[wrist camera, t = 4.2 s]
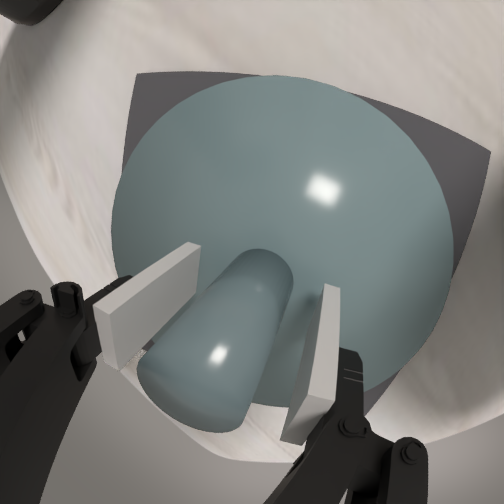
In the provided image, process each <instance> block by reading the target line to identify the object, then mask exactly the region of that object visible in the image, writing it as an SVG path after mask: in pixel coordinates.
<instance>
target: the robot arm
mask: <svg viewBox="0 0 504 504" xmlns="http://www.w3.org/2000/svg"><path fill="white" fill-rule="evenodd" d="M61 1H62V0H0V14H1V15H3V16H4V17H6V18H8V19H9V20H11V21H13V22H15V23H17V24H24V25H34V24H36V23H38V22H40V21H41V20H42V19H43V18H45V17H46V16H47V15H48V14H49V13H50V12H51V11H52V10H53V9H54V8H55V7H56V6H57V5H58V4H59V3H60V2H61ZM200 252H201V246H200V245H197V244H194V243H190V242H187V243H185V244H183V245H182V246H180V247H179V248H177V249H176V250H174V251H172V252H171V253H169V254H168V255H166V256H165V257H163V258H162V259H160V260H159V261H157V262H155V263H154V264H152V265H151V266H149V267H148V268H146V269H145V270H143V271H142V272H140V273H139V274H137V275H136V276H134V277H133V276H131V275H127V276H124V277H120V278H118V279H116V280H115V281H113V282H112V283H110V285H107V286H106V287H104V289H101V290H100V291H98V292H96V293H95V294H93V295H92V296H90V297H89V298H87V299H86V300H85V301H84V300H83V293H82V288H81V287H80V285H79V284H76V283H74V282H60V283H58V284H55V285H54V286H52V287H51V293H52V298H53V302H54V307H53V306H49V305H47V304H44V303H43V301H42V296H41V294H40V293H39V292H38V291H35V290H25V291H22V292H20V293H18V294H17V295H15V296H14V297H12V298H11V299H10V300H8V301H6V302H5V303H4V304H2V305H1V306H0V504H39V503H40V500H41V496H42V493H43V490H44V487H45V484H46V481H47V478H48V475H49V473H50V469H51V467H52V464H53V462H54V459H55V456H56V454H57V451H58V449H59V446H60V444H61V441H62V439H63V436H64V434H65V432H66V429H67V427H68V425H69V422H70V420H71V418H72V416H73V413H74V411H75V409H76V407H77V405H78V403H79V400H80V398H81V396H82V394H83V392H84V390H85V388H86V386H87V384H88V382H89V379H90V378H91V376H92V374H93V372H94V370H95V368H96V364H97V361H96V357H97V356H98V355H99V354H100V353H101V352H102V356H103V360H104V362H105V363H106V364H108V365H109V366H111V367H112V368H114V369H116V370H117V371H120V370H121V369H122V368H123V367H124V366H125V365H126V364H127V363H128V362H129V361H130V360H131V359H132V358H133V357H134V356H135V355H136V354H137V352H138V351H139V350H140V349H141V348H142V347H143V346H144V345H145V344H146V343H147V342H148V341H149V340H150V339H151V338H152V337H153V336H154V335H155V334H156V333H157V332H158V331H159V330H160V329H161V328H162V327H163V326H164V325H165V324H166V323H167V322H168V321H169V320H170V319H171V318H172V317H173V316H174V315H175V313H176V312H177V311H178V310H179V309H180V308H181V307H182V306H183V305H184V304H185V303H186V302H187V301H188V300H189V299H190V298H191V297H192V296H193V295H194V294H195V293H196V287H197V278H198V269H199V261H200ZM21 330H22V332H23V334H24V337H25V339H26V340H24V341H20V340H19V337H18V334H17V333H19V332H20V331H21ZM339 332H340V288H338V287H335V286H332V285H328V284H324V287H323V289H322V292H321V295H320V298H319V300H318V303H317V306H316V309H315V311H314V314H313V317H312V319H311V322H310V324H309V327H308V329H307V334H306V339H305V343H304V348H303V352H302V357H301V361H300V366H299V370H298V374H297V378H296V382H295V386H294V390H293V394H292V398H291V402H290V406H289V409H288V413H287V417H286V420H285V424H284V427H283V431H282V434H281V438H280V440H281V441H284V442H288V443H292V444H296V445H300V446H302V445H303V443H304V442H305V441H306V440H307V441H306V445H305V450H304V452H303V453H302V454H301V455H300V456H299V457H298V458H297V460H296V461H295V462H294V463H293V464H294V465H293V467H292V468H291V469H290V470H289V472H288V473H287V475H286V476H285V477H284V478H283V480H282V481H281V483H280V484H279V485H278V486H277V488H276V489H275V490H274V491H273V493H272V494H271V495H270V496H269V498H268V499H267V500H266V501H265V502H264V503H263V504H339V503H340V501H341V499H342V497H343V495H344V493H345V491H346V490H347V489H348V490H347V495H346V499H345V503H344V504H427V497H428V454H427V450H426V448H425V446H424V445H423V443H421V442H420V441H419V440H417V439H415V438H412V437H403V438H401V439H399V440H397V441H396V442H395V443H394V442H392V441H389V440H387V439H385V438H383V437H380V436H379V435H377V434H375V433H374V432H373V431H372V430H371V426H370V423H369V422H368V420H367V419H366V418H365V417H364V387H363V362H362V360H361V358H360V356H359V354H358V352H356V351H352V350H348V349H344V348H341V347H339Z"/></svg>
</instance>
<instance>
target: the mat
mask: <svg viewBox="0 0 504 504" xmlns="http://www.w3.org/2000/svg"><path fill="white" fill-rule="evenodd" d="M255 76H260V75H250V74H239V73H225V72H194V71H185V72H155V73H141V74H137V76H136V80H135V85H134V90H133V95H132V100H131V105H130V111H129V117H128V124H127V131H126V138H125V146H124V155H123V164H122V172H123V170H124V168H125V166H126V164H127V162H128V160H129V158H130V156H131V154H132V152H133V151H134V149H135V148H136V146H137V145H138V143H139V142H140V140H141V139H142V137H143V136H144V135H145V134H146V133H147V131H148V130H149V129H150V128H151V127H152V126H153V125H154V124H155V123H156V122H157V121H158V119H160V118H161V117H162V116H163V115H164V114H166V113H167V112H168V111H169V110H171V109H172V108H173V107H174V106H176V105H177V104H179V103H180V102H182V101H184V100H185V99H187V98H189V97H190V96H192V95H194V94H196V93H197V92H200V91H202V90H204V89H207V88H209V87H212V86H215V85H217V84H220V83H223V82H227V81H232V80H236V79H241V78H246V77H255ZM348 93H349V92H348ZM350 94H352V95H354V96H357V97H359V98H361V99H362V100H364V101H366V102H367V103H369V104H370V105H372V106H373V107H375V108H376V109H378V110H379V111H380V112H382V113H383V114H385V115H386V116H387V117H389V118H390V119H391V120H392V121H393V122H394V123H395V124H396V125H397V126H398V127H399V128H400V129H401V130H402V131H403V132H404V133H405V134H406V135H407V136H409V138H410V139H411V140H412V141H413V143H414V144H415V145H416V147H417V148H418V149H419V151H420V152H421V153H422V155H423V156H424V157H425V159H426V160H427V162H428V164H429V165H430V167H431V169H432V171H433V173H434V175H435V177H436V179H437V181H438V183H439V185H440V187H441V190H442V192H443V195H444V198H445V201H446V204H447V208H448V211H449V215H450V221H451V227H452V233H453V270H452V276H451V279H452V277H453V274H454V272H455V270H456V267H457V265H458V263H459V260H460V258H461V255H462V253H463V250H464V247H465V245H466V242H467V239H468V237H469V234H470V231H471V228H472V225H473V222H474V219H475V216H476V212H477V209H478V205H479V202H480V198H481V195H482V191H483V187H484V183H485V179H486V174H487V169H488V165H489V159H490V154H491V151H489V150H487V149H486V148H484V147H482V146H480V145H479V144H477V143H475V142H473V141H471V140H470V139H468V138H466V137H464V136H462V135H460V134H458V133H456V132H454V131H452V130H450V129H448V128H446V127H443V126H441V125H439V124H437V123H435V122H432V121H430V120H428V119H425V118H423V117H421V116H418V115H416V114H413V113H411V112H408V111H405V110H403V109H400V108H397V107H394V106H392V105H389V104H386V103H383V102H380V101H377V100H373V99H370V98H367V97H364V96H360V95H357V94H353V93H350ZM154 344H155V343H154V342H153V340H152V339H150V340H149V341H148V342H147V343H146V344H145V345H144V346H143V347H142V349H144V350H146V351H148V350H149V349H150V348H151V347H152V346H153V345H154ZM399 371H400V369H399V370H398V371H397V372H396V373H395V374H393V375H392V376H391V377H389V378H388V379H386V380H385V381H383V382H382V383H380V384H379V385H377V386H375V387H374V388H372V389H369V390H367V391H365V392H364V416H365V415H366V414H367V413H368V412H369V411H370V409H371V408H372V407H373V406H374V404H375V403H376V402H377V401H378V399H379V398H380V397H381V395H382V394H383V393H384V392H385V390H386V389H387V388H388V386H389V385H390V383H391V382H392V381H393V379H394V378H395V377H396V375H397V374H398V372H399Z"/></svg>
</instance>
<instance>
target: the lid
mask: <svg viewBox="0 0 504 504" xmlns="http://www.w3.org/2000/svg"><path fill="white" fill-rule="evenodd" d="M111 236H112V250H113V256H114V262H115V267H116V271H117V274H118V278H120V277H124V276H127V275H131V276H133V277H134V276H136V275H137V274H139V273H140V272H142V271H143V270H145V269H146V268H148V267H149V266H151V265H152V264H154V263H155V262H157V261H159V260H160V259H162V258H163V257H165V256H166V255H168V254H169V253H171V252H172V251H174V250H176V249H177V248H179V247H180V246H182V245H183V244H185V243H187V242H190V243H194V244H197V245H200V246H201V252H200V261H199V269H198V278H197V287H196V293H195V294H194V295H193V296H192V297H191V298H190V299H189V300H188V301H187V302H186V303H185V304H184V305H183V306H182V307H181V308H180V309H179V310H178V311H177V312H176V313H175V315H174V316H173V317H172V318H171V319H170V320H169V321H168V322H167V323H166V324H165V325H164V326H163V327H162V328H161V329H160V330H159V331H158V332H157V333H156V334H155V335H154V336H153V337H152V338H151V339H152V340H153V342H154V343H155V344H154V345H153V346H152V347H151V348H150V349H149V350H148V351H147V352H146V354H145V355H144V356H143V357H142V358H141V359H140V360H139V362H138V365H137V375H138V379H139V382H140V384H141V386H142V388H143V389H144V391H145V393H146V394H147V395H148V397H149V398H150V399H151V400H152V401H153V402H154V403H155V404H156V405H157V406H158V407H159V408H160V409H161V410H162V411H164V412H165V413H166V414H168V415H169V416H171V417H172V418H174V419H175V420H177V421H179V422H181V423H183V424H185V425H187V426H190V427H192V428H195V429H198V430H202V431H206V432H214V433H223V432H229V431H232V430H235V429H237V428H238V427H239V426H240V425H241V424H242V422H243V420H244V418H245V416H246V413H247V411H248V408H249V406H250V404H251V402H252V403H257V404H262V405H268V406H277V407H289V406H290V402H291V398H292V394H293V390H294V386H295V382H296V378H297V374H298V370H299V366H300V361H301V357H302V352H303V348H304V343H305V339H306V334H307V329H308V327H309V324H310V322H311V319H312V317H313V314H314V311H315V309H316V306H317V303H318V300H319V298H320V295H321V292H322V289H323V287H324V284H328V285H332V286H335V287H338V288H340V332H339V347H341V348H344V349H348V350H352V351H356V352H358V354H359V356H360V358H361V360H362V362H363V387H364V392H365V391H367V390H369V389H372V388H374V387H375V386H377V385H379V384H380V383H382V382H383V381H385V380H386V379H388V378H389V377H391V376H392V375H393V374H395V373H396V372H397V371H398V370H399V369H401V368H402V367H403V366H404V365H405V364H406V363H407V362H408V361H409V360H410V359H411V358H412V357H413V356H414V355H415V354H416V353H417V351H418V350H419V349H420V348H421V347H422V345H423V344H424V342H425V341H426V340H427V338H428V337H429V335H430V334H431V332H432V331H433V329H434V327H435V325H436V323H437V321H438V319H439V317H440V315H441V312H442V310H443V307H444V304H445V301H446V298H447V295H448V292H449V288H450V283H451V276H452V270H453V233H452V227H451V221H450V215H449V211H448V208H447V204H446V201H445V198H444V195H443V192H442V190H441V187H440V185H439V183H438V181H437V179H436V177H435V175H434V173H433V171H432V169H431V167H430V165H429V164H428V162H427V160H426V159H425V157H424V156H423V155H422V153H421V152H420V151H419V149H418V148H417V147H416V145H415V144H414V143H413V141H412V140H411V139H410V138H409V136H407V135H406V134H405V133H404V132H403V131H402V130H401V129H400V128H399V127H398V126H397V125H396V124H395V123H394V122H393V121H392V120H391V119H390V118H389V117H387V116H386V115H385V114H383V113H382V112H380V111H379V110H378V109H376V108H375V107H373V106H372V105H370V104H369V103H367V102H366V101H364V100H362V99H361V98H359V97H357V96H354V95H352V94H350V93H348V92H346V91H344V90H341V89H339V88H337V87H335V86H331V85H328V84H324V83H321V82H317V81H313V80H310V79H306V78H298V77H288V76H278V75H273V76H255V77H246V78H241V79H236V80H232V81H227V82H223V83H220V84H217V85H215V86H212V87H209V88H207V89H204V90H202V91H200V92H197V93H196V94H194V95H192V96H190V97H189V98H187V99H185V100H184V101H182V102H180V103H179V104H177V105H176V106H174V107H173V108H172V109H171V110H169V111H168V112H167V113H166V114H164V115H163V116H162V117H161V118H160V119H158V121H157V122H156V123H155V124H154V125H153V126H152V127H151V128H150V129H149V130H148V131H147V133H146V134H145V135H144V136H143V137H142V139H141V140H140V142H139V143H138V145H137V146H136V148H135V149H134V151H133V152H132V154H131V156H130V158H129V160H128V162H127V164H126V166H125V168H124V170H123V172H122V175H121V178H120V181H119V184H118V187H117V190H116V195H115V200H114V205H113V211H112V225H111Z"/></svg>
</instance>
